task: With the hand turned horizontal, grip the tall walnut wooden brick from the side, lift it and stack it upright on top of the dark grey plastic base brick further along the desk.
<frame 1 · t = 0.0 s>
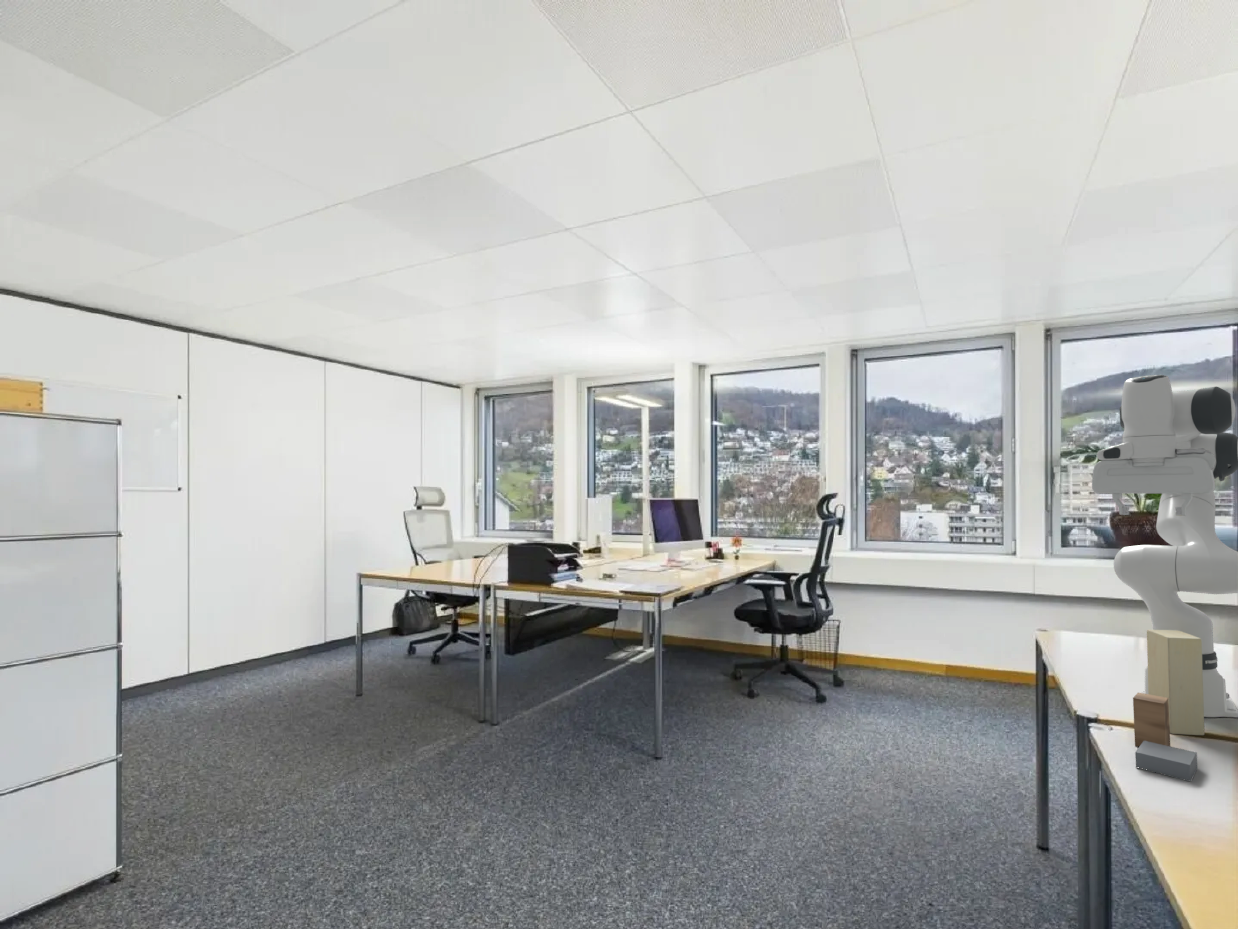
hand: (1152, 515, 138), 48 cm above the table, tool pointing down, fingers open, 8 cm apart
tall pale wood block: (1178, 729, 144), on the table
base brick: (1166, 768, 125), on the table
walnut brick: (1152, 746, 135), on the table
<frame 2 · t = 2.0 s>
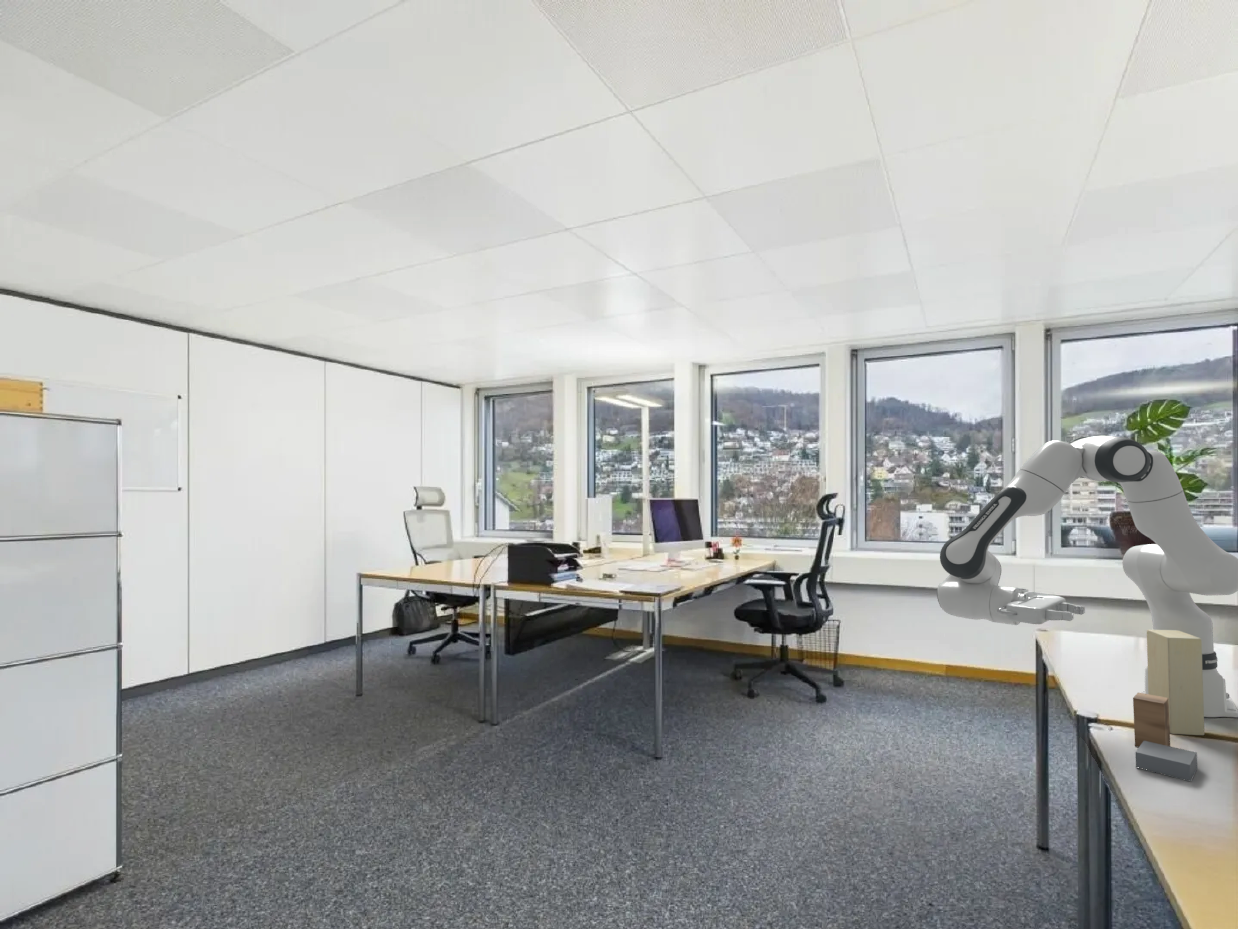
hand: (1078, 613, 145), 26 cm above the table, tool horizontal, fingers open, 8 cm apart
nothing on the table moved.
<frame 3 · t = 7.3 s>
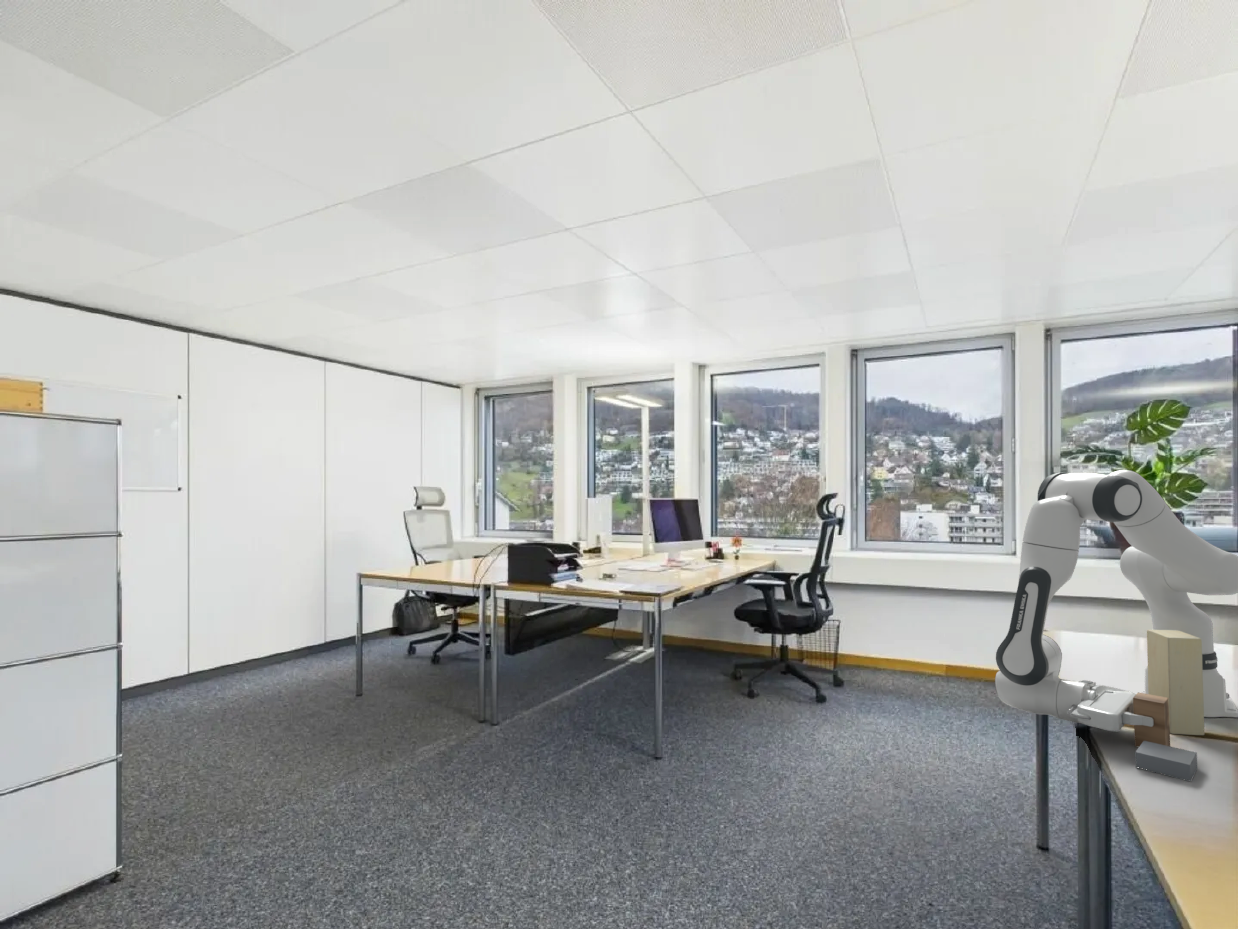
hand: (1156, 718, 135), 6 cm above the table, tool horizontal, fingers closed on walnut brick, 5 cm apart
walnut brick: (1152, 746, 135), on the table, touching gripper
everything else where it was.
when the fingers open (10 cm above the table, at t = 13.9 s): walnut brick drops 1 cm, resting on base brick.
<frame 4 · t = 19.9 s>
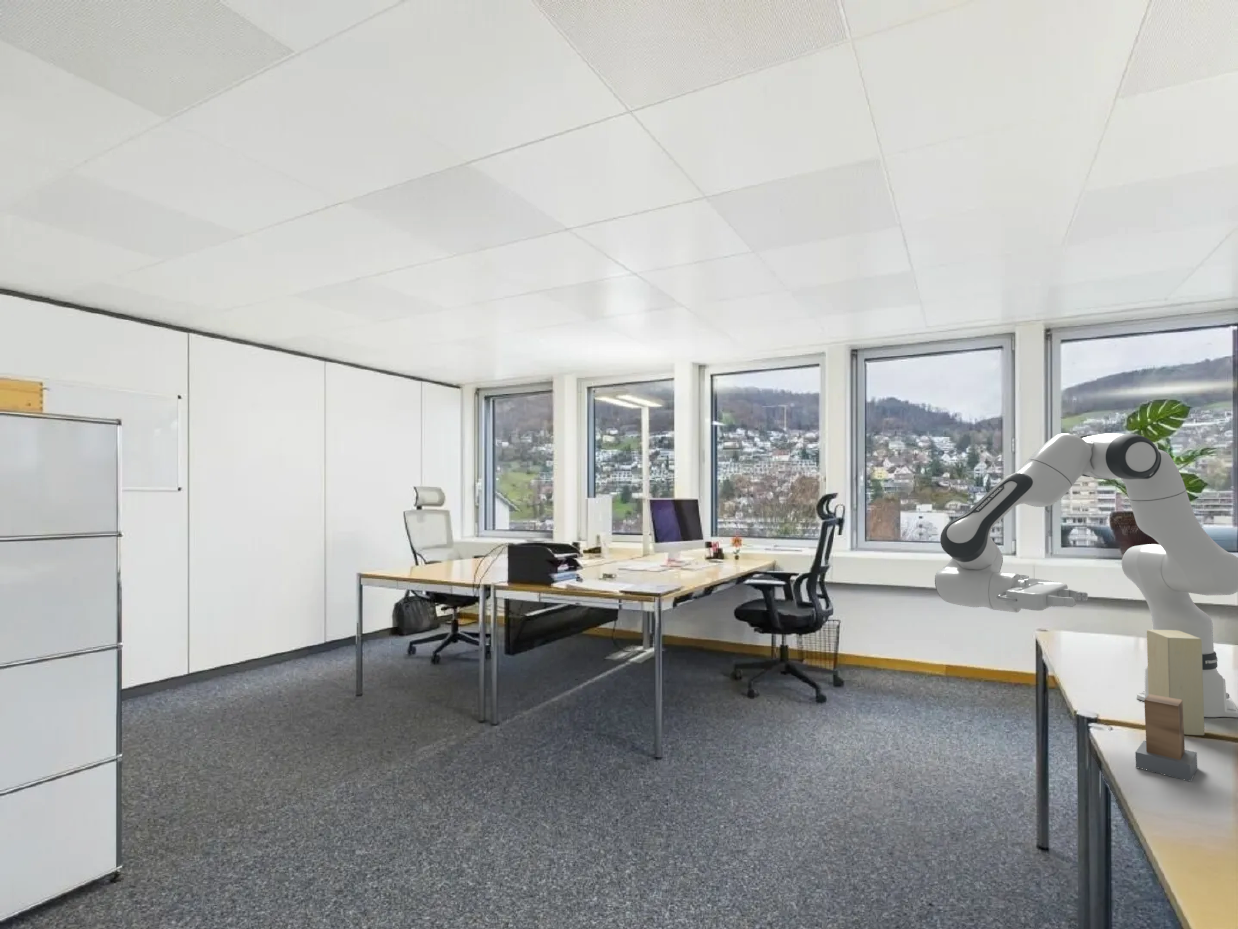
hand: (1081, 599, 140), 30 cm above the table, tool horizontal, fingers open, 8 cm apart
walnut brick: (1165, 752, 125), point 3 cm above the table, touching base brick
everything else where it was.
at the end: walnut brick 0.0 cm off-centre on the base brick, point 3.0 cm above the base brick's base; walnut brick tilted 0°; the gripper is holding nothing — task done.
